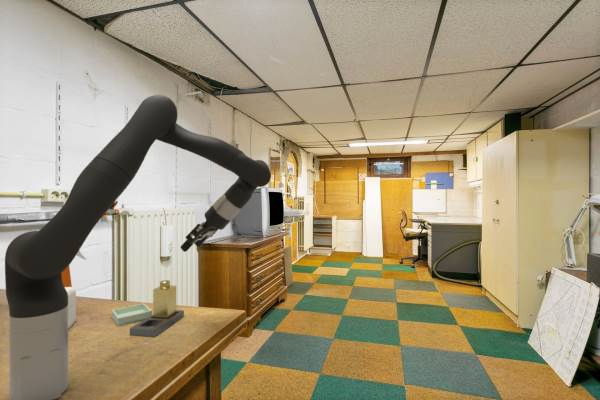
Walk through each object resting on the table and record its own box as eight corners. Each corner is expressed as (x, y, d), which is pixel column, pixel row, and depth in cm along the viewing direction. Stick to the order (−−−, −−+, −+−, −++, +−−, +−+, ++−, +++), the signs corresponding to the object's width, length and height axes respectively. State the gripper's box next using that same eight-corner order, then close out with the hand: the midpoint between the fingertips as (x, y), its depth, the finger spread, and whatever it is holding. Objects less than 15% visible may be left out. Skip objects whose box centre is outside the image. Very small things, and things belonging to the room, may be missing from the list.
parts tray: (151, 318, 103) (151, 310, 103) (117, 326, 97) (117, 318, 97) (143, 310, 111) (143, 303, 111) (111, 317, 104) (111, 309, 104)
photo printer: (64, 333, 92) (64, 292, 92) (47, 335, 90) (47, 293, 90) (78, 320, 102) (77, 283, 102) (62, 322, 100) (62, 284, 100)
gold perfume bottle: (176, 318, 103) (176, 279, 103) (167, 324, 98) (167, 283, 98) (162, 317, 104) (162, 279, 104) (153, 323, 99) (153, 283, 99)
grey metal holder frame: (183, 316, 105) (183, 310, 105) (154, 337, 89) (154, 330, 89) (162, 315, 106) (162, 309, 106) (129, 335, 91) (129, 328, 91)
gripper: (224, 202, 104) (192, 235, 106) (204, 203, 90) (169, 242, 92) (239, 217, 103) (207, 251, 105) (222, 221, 89) (186, 260, 91)
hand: (189, 247), depth 99 cm, fingers open, 8 cm apart
